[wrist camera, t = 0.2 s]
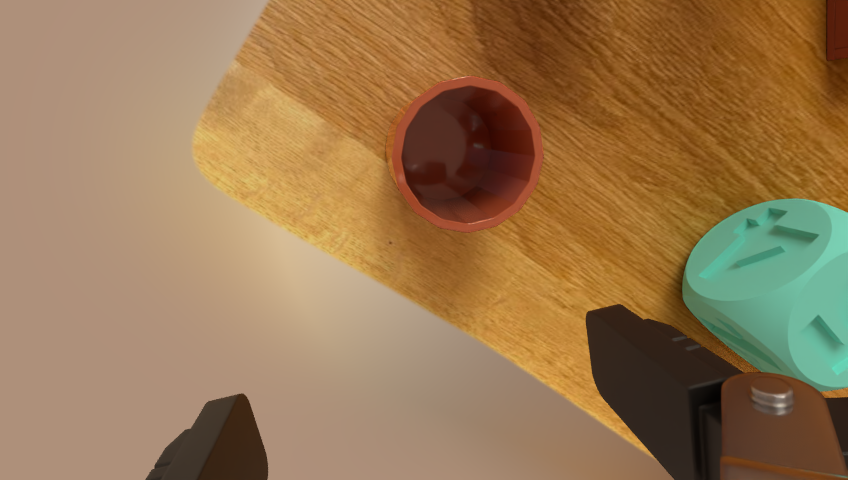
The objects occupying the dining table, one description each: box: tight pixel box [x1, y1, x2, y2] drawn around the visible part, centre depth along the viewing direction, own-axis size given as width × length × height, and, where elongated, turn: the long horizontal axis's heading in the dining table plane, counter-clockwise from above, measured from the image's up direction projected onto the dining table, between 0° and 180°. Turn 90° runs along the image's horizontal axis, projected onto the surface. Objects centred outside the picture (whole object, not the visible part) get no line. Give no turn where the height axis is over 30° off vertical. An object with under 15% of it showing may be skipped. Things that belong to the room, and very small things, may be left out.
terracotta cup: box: [385, 76, 544, 233], centre depth 24 cm, size 6×6×8 cm
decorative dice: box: [682, 199, 848, 391], centre depth 28 cm, size 8×8×8 cm
